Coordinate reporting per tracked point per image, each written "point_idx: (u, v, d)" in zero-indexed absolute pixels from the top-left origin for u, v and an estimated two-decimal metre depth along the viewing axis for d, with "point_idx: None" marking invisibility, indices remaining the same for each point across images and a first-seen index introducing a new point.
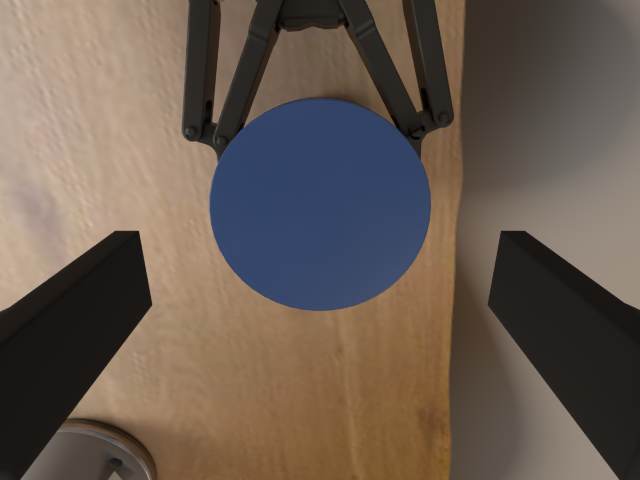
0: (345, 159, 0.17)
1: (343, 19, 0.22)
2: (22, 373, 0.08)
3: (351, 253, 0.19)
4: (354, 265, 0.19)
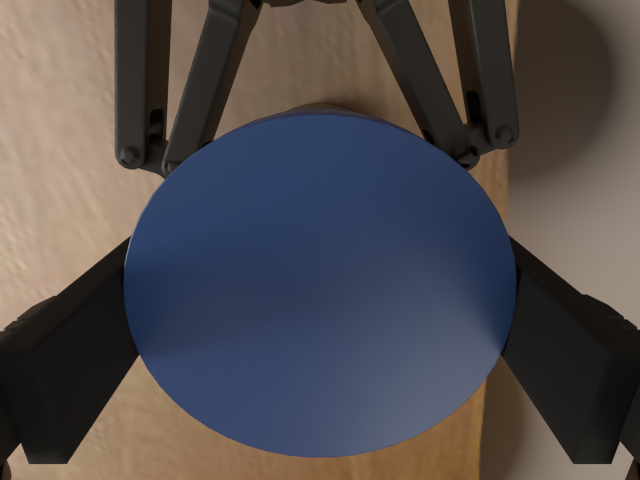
0: (366, 223, 0.09)
1: None
2: (71, 358, 0.08)
3: (373, 375, 0.11)
4: (378, 393, 0.11)
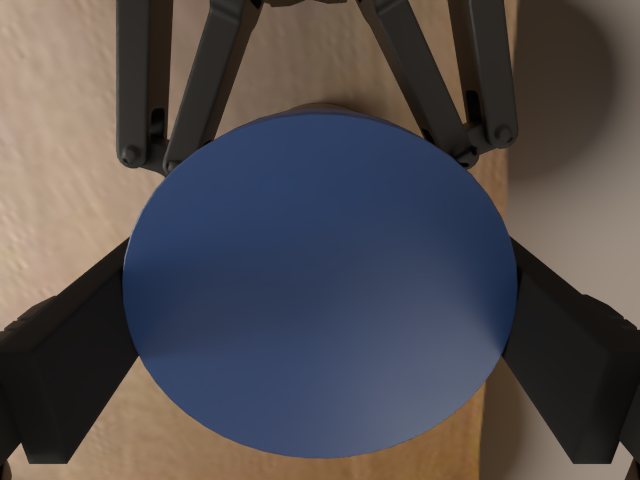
0: (216, 337, 0.11)
1: None
2: (71, 357, 0.08)
3: (347, 234, 0.09)
4: (365, 214, 0.09)
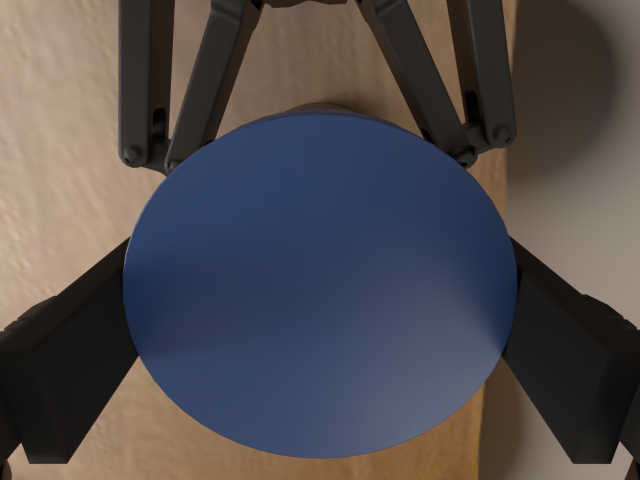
0: (395, 375, 0.11)
1: None
2: (71, 358, 0.08)
3: (235, 344, 0.11)
4: (211, 343, 0.11)
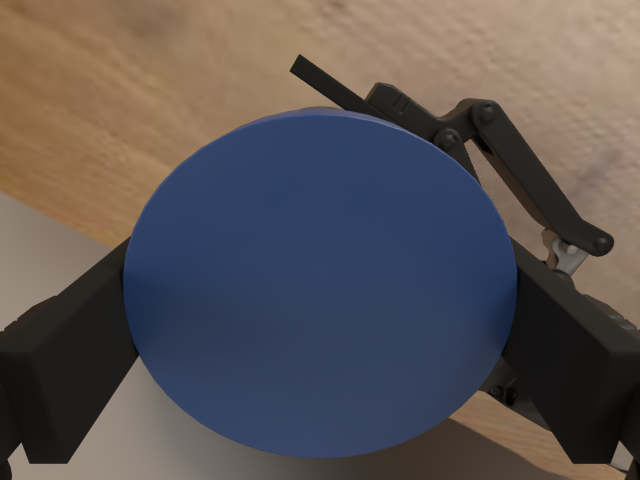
0: (395, 374, 0.11)
1: None
2: (71, 358, 0.08)
3: (235, 344, 0.11)
4: (211, 342, 0.11)
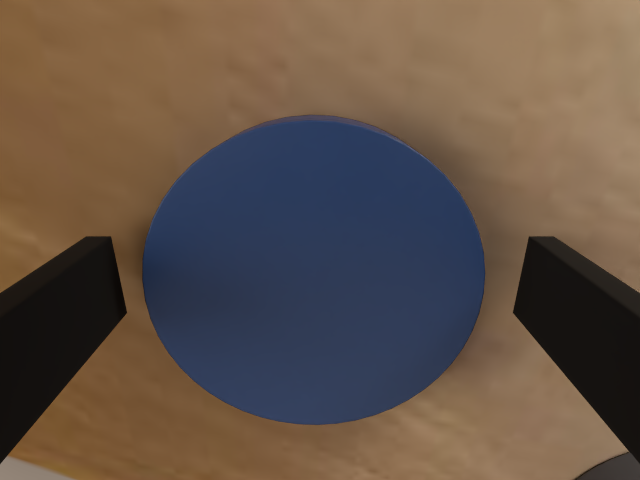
0: (380, 347, 0.13)
1: None
2: None
3: (240, 320, 0.12)
4: (218, 319, 0.12)
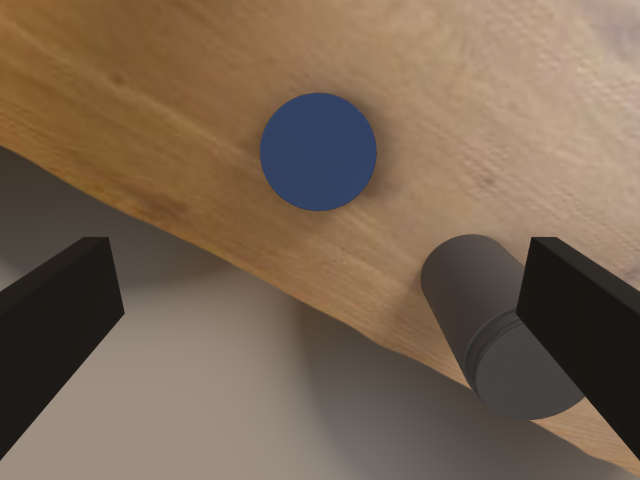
0: (341, 176, 0.35)
1: None
2: None
3: (292, 165, 0.35)
4: (285, 164, 0.35)
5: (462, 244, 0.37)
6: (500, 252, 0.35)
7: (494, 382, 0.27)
